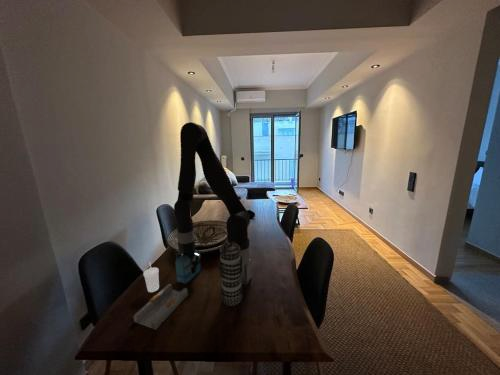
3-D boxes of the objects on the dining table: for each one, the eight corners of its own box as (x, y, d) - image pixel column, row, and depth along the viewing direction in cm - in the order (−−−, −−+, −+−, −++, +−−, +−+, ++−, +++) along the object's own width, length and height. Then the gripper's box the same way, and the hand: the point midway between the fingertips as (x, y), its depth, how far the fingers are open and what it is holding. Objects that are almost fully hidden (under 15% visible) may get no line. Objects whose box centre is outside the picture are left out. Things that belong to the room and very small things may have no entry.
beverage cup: (162, 283, 95) (158, 256, 92) (159, 293, 89) (155, 264, 86) (148, 285, 94) (144, 258, 91) (144, 295, 88) (139, 266, 85)
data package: (184, 285, 94) (182, 262, 91) (177, 282, 96) (174, 259, 93) (201, 270, 105) (199, 249, 102) (193, 268, 106) (192, 247, 104)
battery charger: (241, 219, 173) (241, 215, 172) (236, 216, 181) (236, 212, 180) (255, 217, 178) (255, 212, 178) (249, 213, 187) (249, 209, 186)
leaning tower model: (246, 306, 82) (244, 248, 76) (223, 311, 79) (219, 252, 74) (240, 290, 90) (238, 237, 85) (219, 295, 88) (216, 241, 82)
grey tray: (188, 295, 88) (187, 287, 87) (155, 331, 71) (154, 322, 70) (169, 290, 91) (168, 282, 90) (134, 323, 75) (132, 314, 74)
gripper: (204, 238, 97) (206, 270, 100) (179, 233, 102) (181, 264, 105) (194, 245, 90) (197, 279, 94) (168, 240, 95) (171, 273, 99)
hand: (189, 271), depth 99 cm, fingers closed on data package, 4 cm apart
